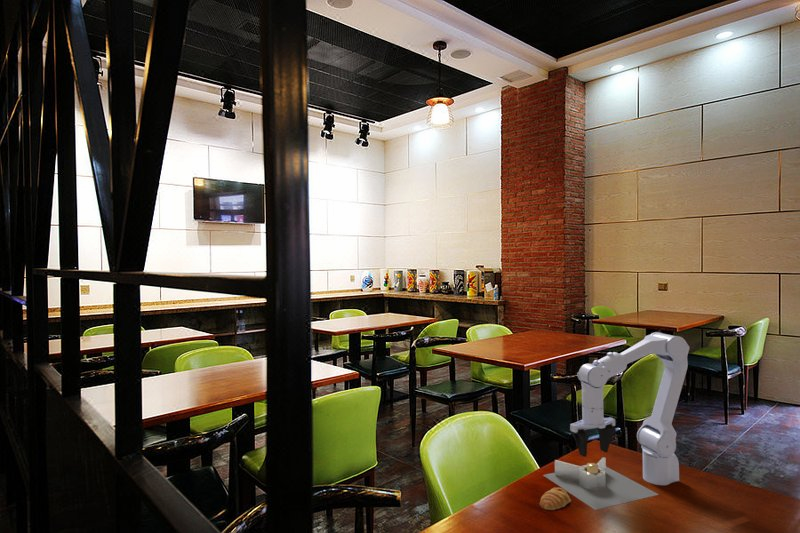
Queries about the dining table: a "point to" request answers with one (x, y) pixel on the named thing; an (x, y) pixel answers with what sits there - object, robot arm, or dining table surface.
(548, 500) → the pastry
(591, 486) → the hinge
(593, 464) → the pin
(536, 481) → the dining table surface
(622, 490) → the mat
